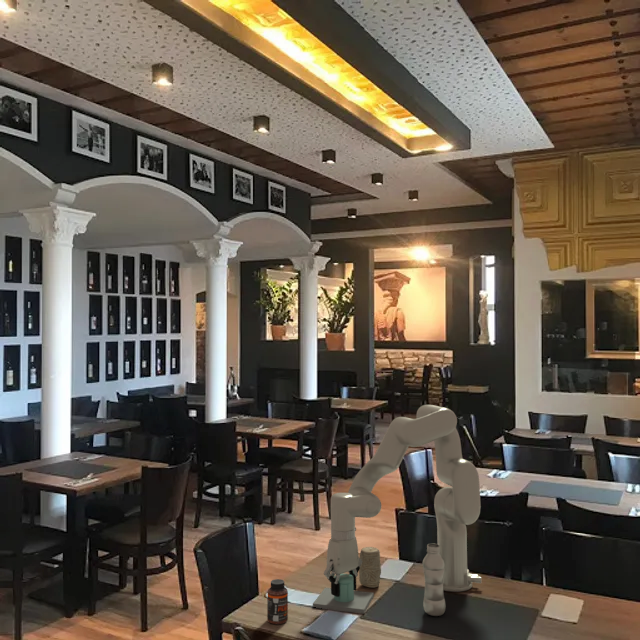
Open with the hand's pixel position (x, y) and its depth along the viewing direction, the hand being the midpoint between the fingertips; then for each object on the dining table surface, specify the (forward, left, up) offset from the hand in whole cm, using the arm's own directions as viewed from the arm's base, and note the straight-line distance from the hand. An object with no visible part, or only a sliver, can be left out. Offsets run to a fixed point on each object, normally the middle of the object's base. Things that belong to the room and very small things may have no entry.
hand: (343, 591), depth 198 cm
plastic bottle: (-28, +1, -3) cm, 28 cm away
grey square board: (0, 0, -3) cm, 3 cm away
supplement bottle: (+15, +18, -3) cm, 24 cm away
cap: (0, 0, -2) cm, 2 cm away
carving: (-5, -15, -3) cm, 16 cm away
